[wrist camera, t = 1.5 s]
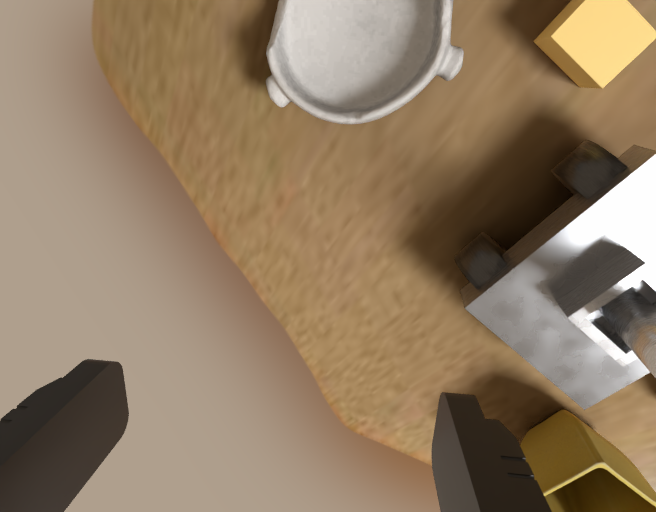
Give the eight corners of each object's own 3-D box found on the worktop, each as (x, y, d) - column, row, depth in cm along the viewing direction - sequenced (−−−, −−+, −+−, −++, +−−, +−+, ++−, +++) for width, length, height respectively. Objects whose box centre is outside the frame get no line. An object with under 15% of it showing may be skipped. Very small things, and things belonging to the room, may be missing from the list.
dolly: (590, 120, 31) (661, 135, 22) (735, 264, 33) (849, 328, 25) (439, 256, 38) (449, 309, 29) (569, 369, 40) (614, 448, 31)
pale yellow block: (580, -10, 28) (606, -23, 24) (627, 40, 29) (659, 35, 25) (533, 41, 30) (550, 36, 26) (578, 87, 30) (602, 88, 27)
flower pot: (498, 430, 45) (519, 508, 37) (563, 386, 41) (602, 462, 33) (555, 472, 46) (588, 556, 38) (623, 433, 42) (676, 517, 34)
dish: (282, 120, 35) (264, 126, 31) (270, -76, 30) (246, -103, 25) (451, 119, 33) (458, 126, 28) (472, -93, 27) (486, -128, 23)
